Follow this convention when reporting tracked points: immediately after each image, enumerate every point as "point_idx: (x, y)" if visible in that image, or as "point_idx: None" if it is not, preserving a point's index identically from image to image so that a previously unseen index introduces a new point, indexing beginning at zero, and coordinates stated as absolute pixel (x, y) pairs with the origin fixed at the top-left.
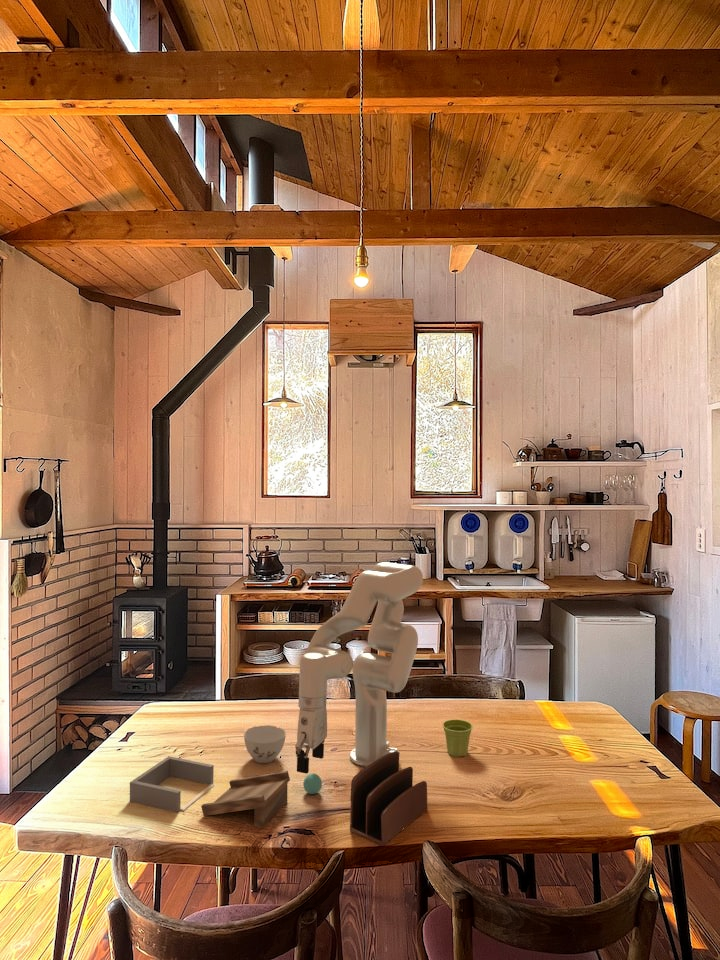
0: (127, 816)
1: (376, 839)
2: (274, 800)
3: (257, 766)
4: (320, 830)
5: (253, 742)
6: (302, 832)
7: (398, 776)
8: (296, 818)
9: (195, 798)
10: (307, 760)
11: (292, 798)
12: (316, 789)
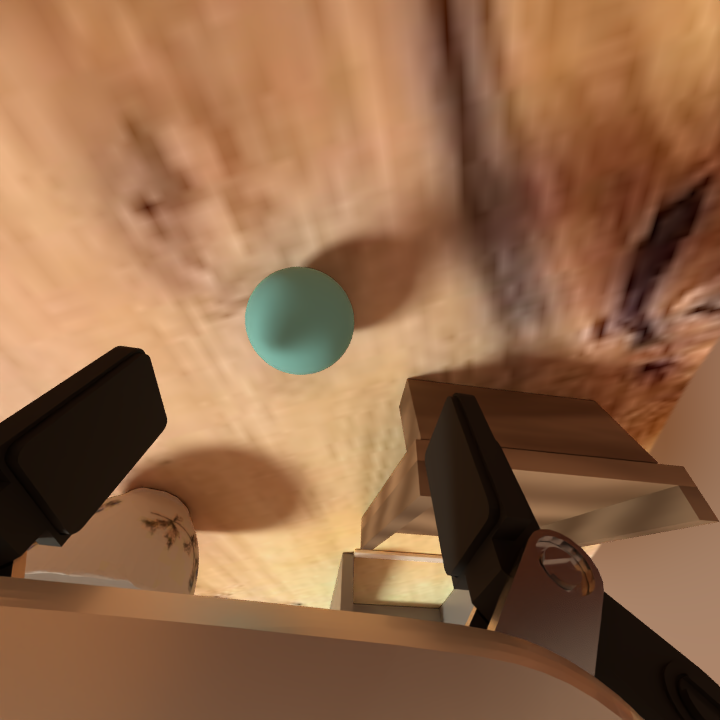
0: None
1: None
2: (545, 436)
3: (210, 508)
4: (681, 150)
5: None
6: (668, 249)
7: None
8: (537, 310)
9: (427, 559)
10: (516, 497)
11: (376, 368)
12: (339, 285)
